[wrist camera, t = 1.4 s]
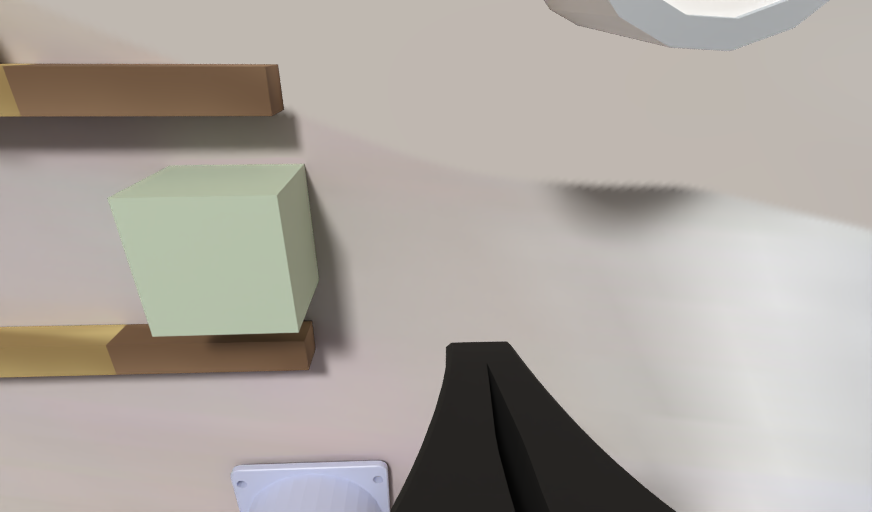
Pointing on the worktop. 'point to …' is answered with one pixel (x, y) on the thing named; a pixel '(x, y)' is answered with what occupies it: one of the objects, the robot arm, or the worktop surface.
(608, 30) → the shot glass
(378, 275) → the worktop surface
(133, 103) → the twin wooden rails
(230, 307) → the block
